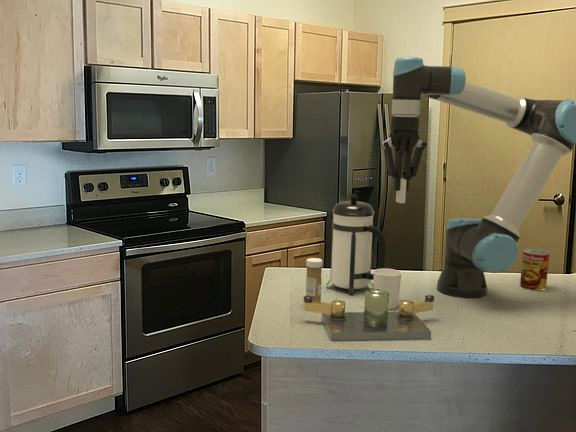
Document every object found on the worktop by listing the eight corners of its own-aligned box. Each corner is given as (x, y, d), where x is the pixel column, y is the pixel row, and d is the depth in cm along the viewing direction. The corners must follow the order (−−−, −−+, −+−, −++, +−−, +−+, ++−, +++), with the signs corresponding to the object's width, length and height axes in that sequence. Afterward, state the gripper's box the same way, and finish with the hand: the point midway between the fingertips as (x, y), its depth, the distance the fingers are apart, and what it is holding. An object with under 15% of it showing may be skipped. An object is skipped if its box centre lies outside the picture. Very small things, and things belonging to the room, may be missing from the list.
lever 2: (436, 313, 170) (437, 297, 169) (404, 319, 164) (405, 303, 163) (427, 309, 173) (428, 293, 172) (395, 315, 167) (396, 299, 166)
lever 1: (305, 310, 169) (306, 294, 169) (346, 315, 165) (347, 300, 165) (301, 314, 166) (301, 298, 165) (342, 320, 162) (343, 304, 161)
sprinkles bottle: (324, 306, 180) (325, 260, 178) (311, 308, 178) (312, 262, 175) (314, 301, 184) (316, 256, 182) (301, 304, 182) (303, 258, 179)
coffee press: (324, 295, 190) (328, 196, 185) (327, 281, 206) (330, 189, 201) (382, 299, 188) (387, 199, 183) (381, 284, 204) (386, 191, 199)
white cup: (401, 303, 185) (403, 270, 183) (396, 311, 177) (398, 276, 176) (375, 300, 187) (376, 267, 185) (369, 307, 180) (370, 273, 178)
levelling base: (412, 318, 171) (415, 281, 170) (430, 339, 157) (433, 298, 155) (321, 319, 169) (322, 281, 167) (331, 340, 154) (332, 298, 152)
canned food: (515, 286, 205) (518, 250, 203) (527, 282, 210) (531, 247, 208) (538, 292, 199) (541, 255, 197) (550, 288, 204) (554, 252, 202)
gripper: (420, 116, 176) (415, 199, 180) (377, 115, 173) (373, 200, 177) (433, 116, 169) (428, 204, 173) (389, 116, 166) (384, 205, 170)
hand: (400, 202), depth 175 cm, fingers closed
